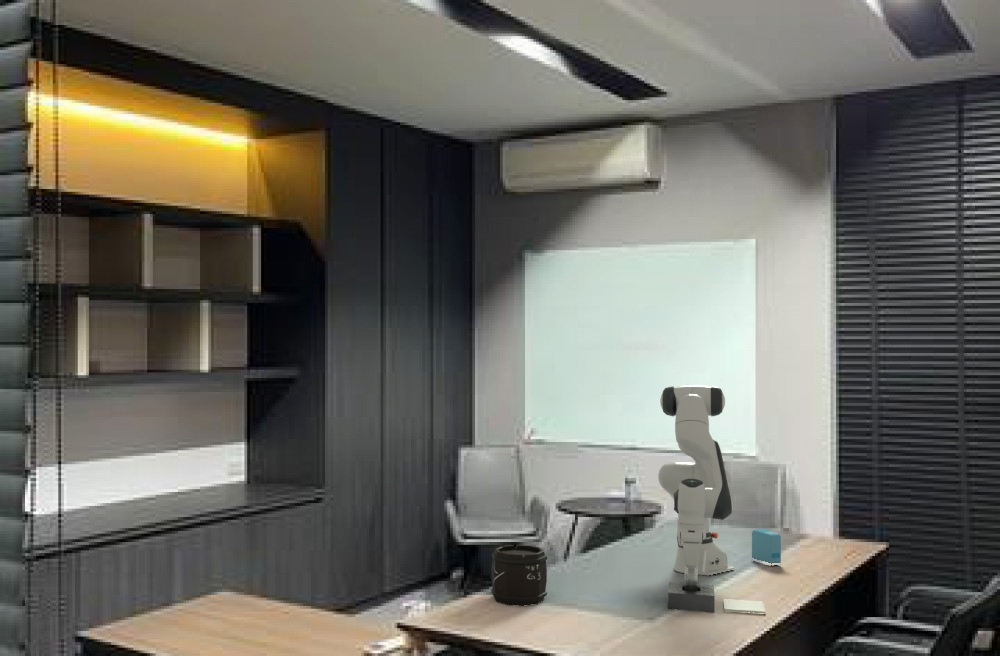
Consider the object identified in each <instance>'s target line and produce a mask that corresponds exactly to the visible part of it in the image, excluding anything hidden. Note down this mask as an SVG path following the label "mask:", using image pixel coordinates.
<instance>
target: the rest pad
mask: <svg viewBox="0 0 1000 656" xmlns="http://www.w3.org/2000/svg"><path fill="white" fill-rule="evenodd" d="M723 601H724V602H723V608H724V609H723V610H725V611H724V613H730V612H747V613H748V612H750V613H753V612H754V613H765V614H766V608H765V605H764V602H763V601H761V600H749V599H732V598H730V599H729V598H723Z"/></svg>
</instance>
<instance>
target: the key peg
mask: <svg viewBox="0 0 1000 656" xmlns="http://www.w3.org/2000/svg"><path fill="white" fill-rule="evenodd" d="M698 575H699V574H698V565H697V568H695V571H694V578H693V579H690V578H689V577H688V567H686V566H685V573H684V583H685V590H686V591H698V584H699V582H698V581H699V578H698V577H699V576H698Z"/></svg>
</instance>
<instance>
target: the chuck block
mask: <svg viewBox="0 0 1000 656" xmlns="http://www.w3.org/2000/svg"><path fill="white" fill-rule="evenodd" d="M667 590H668V591H667V610H674V609H677V610H676V611H689V612H690V611H691V612H703V611H705V613H715V610H716V609H715V603H716V601H715V597H716V596H715V595H716V594H715V584H708V583H706V584H705V583H698V591H686V590H685V582H674V581H669V582H668V589H667Z"/></svg>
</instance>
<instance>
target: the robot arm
mask: <svg viewBox="0 0 1000 656" xmlns="http://www.w3.org/2000/svg"><path fill="white" fill-rule="evenodd" d="M725 406H726V397H725V395H724V392H723V390H722V389H721V388H720V387H718V386H714V385H711V386H708V385H699V384H698V385H697V384H692V385H681V386H667V387H665V388H664V389H663V390H662V393H661V395H660V407H661V410H662V412H663V413H664V415H666V416H670V417H675V423H674V432H675V440H676V442H677V445H678V448H679V450H680V452H682V454H684V455H686V456H687V457H689V458H692V459H693V461H694V462H686V461H685V462H684V461H682V462H681V461H675V462H668V463H664V464H663V465H662V466H661V467H660V469H659V472H658V478H657V479H658V482H659V485H660V487H661V488H662V489H663V490H664V491H665V492H667V493H668V494H669V495H670V496H671V498H672V499H673V501H674V502H673V511H674V512H676V513H677V528H676V529H677V532H676V542H677V548H676V550H677V551H676V554H675V555H676V556H675V562H674V566H673V568H672V569H673V570H674V571H675V572H678V573H681V574H682V573H683V574H685V566H686V567H688V577H689V578H690V579H693V578H694V571H695V568H697V565H698V575H702V576H709V575H711V576H714V575H713V574H716V575H718V574H717V573H720V574H722V573H721V572H724V573H726V572H725V571H728V570H732V569H734V570H735V567H734V566H733V565H731V564H729V562H728V555H727V554H726V551H725V550H724V549H722V548H721V547H719V545H717V543H715V542H714V539H718V538H719V534H718V532H711V531H710V519H713V520H719V521H720V520H721V521H724V520H725V519H726V518H728V517H729V516H731V515H732V513H733V509H734V503H733V498H732V494H731V492H730V489H729V488H730V484H731V473H730V471H729V470H728V469H727V467H726V466H725V464H724V459H723V454H722V450H721V446H720V444H719V443H718V441H717V440H716V439H715V440H714V439H713V437H712V435H711V434H710V420H709V419H710V418H709V416H711V417H716V416H719V415H720V414H722V413H723V411H724V408H725Z"/></svg>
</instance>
